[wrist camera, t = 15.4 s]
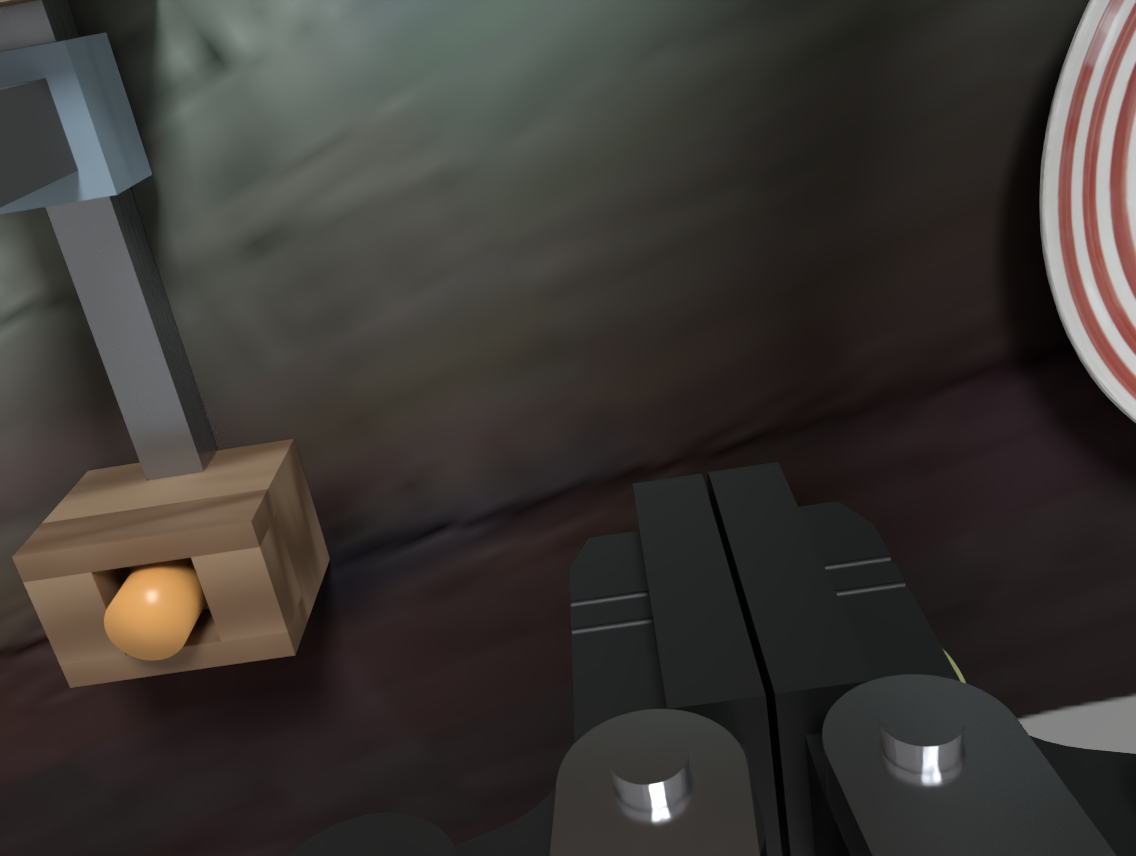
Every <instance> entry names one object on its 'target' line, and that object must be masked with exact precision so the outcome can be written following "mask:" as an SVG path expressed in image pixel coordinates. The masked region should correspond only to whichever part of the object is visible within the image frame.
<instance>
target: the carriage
mask: <svg viewBox="0 0 1136 856" xmlns="http://www.w3.org/2000/svg"><path fill="white" fill-rule="evenodd" d="M151 175H152V172H151V169H150V166H149V163H148V160H147V157H146V154H145V150H144V147H143V144H142V141H141V138H140V135H139V132H138V129H137V126H136V123H135V120H134V116H133V113H132V110H131V107H130V104H129V101H128V98H127V95H126V92H125V89H124V86H123V82H122V79H121V76H120V73H119V70H118V67H117V64H116V61H115V58H114V55H113V52H112V48H111V45H110V42H109V39H108V36H107V33H106V32H105V33H100V34H94V35H88V36H83V37H77V38H72V39H67V40H62V41H56V42H51V43H45V44H40V45H34V46H28V47H23V48H17V49H11V50H6V51H0V215H1V214H7V213H13V212H19V211H24V210H30V209H36V208H42V207H48V206H54V205H60V204H66V203H72V202H78V201H84V200H90V199H95V198H101V197H107V196H113V195H118V194H119V193H121V192H123V191H125V190H126V189H128V188H130V187H131V186H133V185H135V184H137V183H138V182H140V181H142V180H144V179H145V178H147V177H149V176H151Z"/></svg>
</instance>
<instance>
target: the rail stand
mask: <svg viewBox="0 0 1136 856" xmlns="http://www.w3.org/2000/svg"><path fill="white" fill-rule="evenodd" d="M77 37H80V36H79V33H78V30H77V27H76V24H75V21H74V18H73V15H72V12H71V9H70V6H69V3H68V0H0V51H6V50H11V49H17V48H23V47H28V46H34V45H40V44H45V43H51V42H56V41H62V40H67V39H72V38H77ZM46 210H47V213H48V216H49V218H50V221H51V224H52V226H53V229H54V232H55V234H56V237H57V240H58V242H59V245H60V248H61V251H62V253H63V256H64V259H65V261H66V264H67V267H68V269H69V272H70V275H71V278H72V280H73V283H74V286H75V288H76V291H77V294H78V296H79V299H80V302H81V305H82V307H83V310H84V313H85V315H86V318H87V321H88V323H89V326H90V329H91V332H92V334H93V337H94V340H95V342H96V345H97V348H98V350H99V353H100V356H101V359H102V361H103V364H104V367H105V369H106V372H107V375H108V377H109V380H110V383H111V385H112V388H113V391H114V394H115V396H116V399H117V402H118V404H119V407H120V410H121V412H122V415H123V418H124V421H125V423H126V426H127V429H128V431H129V434H130V437H131V439H132V442H133V445H134V448H135V450H136V453H137V456H138V458H139V461H140V463H134V464H127V465H121V466H115V467H108V468H102V469H95V470H89V471H87V473H86V474H85V475H84V476H83V477H82V478H81V479H80V481H79V482H78V483H77V484H76V485H75V486H74V487H73V489H72V490H71V491H70V492H69V493H68V494H67V495H66V496H65V498H64V499H63V500H62V501H61V502H60V503H59V504H58V506H57V507H56V508H55V509H54V510H53V511H52V512H51V514H50V515H49V516H48V517H47V518H46V519H45V520H44V522H43V523H42V524H41V525H40V526H39V527H38V528H37V530H36V531H35V532H34V533H33V534H32V535H31V536H30V538H29V539H28V540H27V541H26V542H25V543H24V544H23V545H22V547H21V548H20V549H19V550H18V551H17V552H16V553H15V555H14V556H13V557H12V558H13V560H14V563H15V565H16V567H17V569H18V572H19V574H20V576H21V578H22V581H23V583H24V585H25V587H26V590H27V592H28V594H29V596H30V599H31V601H32V603H33V605H34V607H35V610H36V612H37V614H38V616H39V619H40V621H41V623H42V625H43V628H44V630H45V632H46V634H47V637H48V639H49V641H50V643H51V646H52V648H53V650H54V652H55V655H56V657H57V659H58V661H59V664H60V666H61V668H62V670H63V672H64V675H65V677H66V679H67V681H68V684H69V686H70V688H72V687H79V686H86V685H93V684H100V683H106V682H113V681H120V680H127V679H134V678H141V677H148V676H155V675H162V674H169V673H176V672H183V671H190V670H197V669H204V668H211V667H218V666H224V665H231V664H238V663H245V662H252V661H259V660H266V659H273V658H280V657H287V656H294V655H296V652H297V650H298V647H299V644H300V641H301V638H302V636H303V633H304V630H305V627H306V624H307V622H308V619H309V616H310V613H311V610H312V608H313V605H314V602H315V599H316V596H317V594H318V591H319V588H320V585H321V582H322V580H323V577H324V574H325V571H326V568H327V566H328V563H329V560H330V558H329V554H328V551H327V548H326V544H325V541H324V538H323V534H322V531H321V528H320V524H319V521H318V518H317V514H316V511H315V507H314V504H313V501H312V497H311V494H310V491H309V487H308V484H307V481H306V477H305V474H304V471H303V467H302V464H301V461H300V457H299V454H298V451H297V447H296V444H295V441H294V439H289V440H282V441H276V442H269V443H263V444H256V445H250V446H244V447H237V448H231V449H224V450H218V449H217V446H216V443H215V440H214V437H213V434H212V431H211V428H210V425H209V422H208V419H207V416H206V413H205V410H204V407H203V404H202V401H201V398H200V395H199V392H198V389H197V386H196V383H195V380H194V377H193V374H192V371H191V368H190V365H189V362H188V359H187V356H186V353H185V350H184V347H183V344H182V341H181V338H180V335H179V332H178V329H177V326H176V323H175V320H174V317H173V314H172V311H171V308H170V305H169V302H168V299H167V296H166V293H165V290H164V287H163V284H162V281H161V278H160V275H159V272H158V269H157V266H156V263H155V260H154V257H153V254H152V251H151V248H150V245H149V242H148V240H147V237H146V234H145V231H144V228H143V225H142V222H141V219H140V216H139V213H138V210H137V207H136V204H135V201H134V198H133V195H132V192H131V189H130V188H128V189H126V190H125V191H123V192H121V193H119V194H118V195H113V196H107V197H101V198H95V199H90V200H84V201H78V202H72V203H66V204H60V205H54V206H48V207H46ZM190 557H191V559H192V562H193V565H194V567H195V570H196V573H197V576H198V578H199V581H200V584H201V587H202V589H203V592H204V595H205V598H206V600H207V602H206V604H205V606H204V608H203V610H202V612H201V613H200V615H199V617H198V619H197V621H196V623H195V625H194V627H193V629H192V631H191V633H190V635H189V636H188V638H187V640H186V642H185V644H184V646H183V647H182V648H181V650H180V651H178V652H177V653H176V654H174V655H173V656H171V657H169V658H166V659H162V660H142V659H138V658H135V657H132V656H130V655H128V654H126V653H124V652H122V651H121V650H120V649H118V648H117V647H116V646H115V645H114V644H113V643H112V641H111V640H110V639H109V637H108V635H107V633H106V630H105V627H104V615H105V612H106V610H107V608H108V606H109V605H110V603H111V602H112V600H113V599H114V597H115V596H116V594H117V593H118V591H119V590H120V588H121V587H122V585H123V584H124V582H125V581H126V579H127V578H128V576H129V575H130V573H131V572H132V570H133V569H134V567H135V566H137V565H143V564H150V563H157V562H163V561H170V560H177V559H183V558H190Z"/></svg>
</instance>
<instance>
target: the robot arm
mask: <svg viewBox="0 0 1136 856" xmlns="http://www.w3.org/2000/svg"><path fill="white" fill-rule="evenodd" d="M633 490H634V497H635V503H636V510H637V517H638V523H639V531H632V532H626V533H619V534H612V535H605V536H598V537H592V538H588V540H587V541H586V543H585V545H584V546H583V548H582V549H581V551H580V552H579V554H578V556H577V557H576V559H575V560H574V562H573V564H572V565H571V567H570V568H569V574H570V602H571V630H572V635H571V637H572V668H573V699H574V730H575V744H574V745H573V746H572V747H571V749H570V750H569V751H568V753H567V754H566V756H565V757H564V759H563V762H562V764H561V766H560V768H559V772H558V777H557V783H556V788H555V789H554V790H553V791H552V792H551V793H550V795H549V796H548V797H547V798H546V799H545V800H544V801H542V802H541V803H540V804H539V805H537V806H536V807H535V808H534V809H532V810H531V811H529V812H528V813H526V814H525V815H523V816H521V817H520V818H518V819H517V820H515V821H512V822H510V823H508V824H506V825H504V826H502V827H500V828H497V829H495V830H493V831H490V832H488V833H485V834H483V835H480V836H478V837H475V838H473V839H470V840H468V841H466V842H463V843H461V844H458V845H456V846H453V844H452V842H451V841H450V839H449V837H448V836H447V835H446V834H445V833H444V832H443V831H442V830H441V829H440V828H438V827H437V826H435V825H434V824H432V823H431V822H429V821H427V820H424V819H422V818H419V817H417V816H412V815H407V814H402V813H379V814H369V815H365V816H360V817H356V818H352V819H350V820H347V821H344V822H341V823H338V824H336V825H334V826H332V827H330V828H328V829H326V830H324V831H322V832H320V833H318V834H317V835H315V836H314V837H312V838H310V839H309V840H307V841H306V842H305V843H303V844H302V845H301V846H300V847H298V848H297V849H296V850H295V851H293V852H292V853H291V854H290V855H289V856H1136V754H1130V753H1121V752H1111V751H1100V750H1091V749H1082V748H1076V747H1069V746H1063V745H1059V744H1055V743H1051V742H1047V741H1044V740H1041V739H1038V738H1035V737H1032V736H1029V735H1028V733H1027V732H1026V730H1025V729H1024V728H1023V726H1022V725H1021V724H1020V722H1019V721H1018V719H1017V718H1016V717H1015V716H1014V715H1013V714H1012V713H1011V711H1010V710H1009V709H1008V708H1007V707H1006V706H1004V705H1003V704H1002V703H1001V702H999V701H998V700H997V699H996V698H994V697H992V696H991V695H989V694H987V693H986V692H984V691H982V690H980V689H978V688H976V687H973V686H971V685H969V684H966V683H963V682H961V681H960V679H959V677H958V675H957V674H956V672H955V670H954V668H953V666H952V665H951V663H950V661H949V659H948V657H947V656H946V654H945V652H944V650H943V648H942V647H941V645H940V643H939V641H938V640H937V638H936V636H935V634H934V632H933V631H932V629H931V627H930V625H929V623H928V622H927V620H926V618H925V616H924V614H923V613H922V611H921V609H920V607H919V605H918V604H917V602H916V600H915V598H914V596H913V595H912V593H911V591H910V589H909V587H906V586H905V580H904V578H903V577H902V575H901V573H900V571H899V570H898V568H897V566H896V564H895V562H894V561H891V557H890V553H889V552H888V550H887V548H886V546H885V544H884V543H883V541H882V539H881V537H880V535H879V534H878V532H877V530H876V528H875V526H874V525H873V524H872V523H871V522H869V521H868V520H866V519H865V518H863V517H862V516H860V515H858V514H857V513H855V512H854V511H852V510H851V509H849V508H848V507H846V506H845V505H843V504H842V503H840V502H838V501H835V502H828V503H821V504H815V505H808V506H801V507H798V505H797V503H796V501H795V499H794V496H793V494H792V492H791V490H790V487H789V485H788V483H787V480H786V478H785V476H784V474H783V471H782V469H781V467H780V465H779V463H778V462H773V463H766V464H759V465H753V466H746V467H739V468H732V469H726V470H719V471H712V472H707V489H706V486H705V482H704V479H703V476H702V474H701V473H700V474H694V475H687V476H680V477H674V478H667V479H660V480H654V481H647V482H640V483H633ZM707 491H708V493H707Z"/></svg>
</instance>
